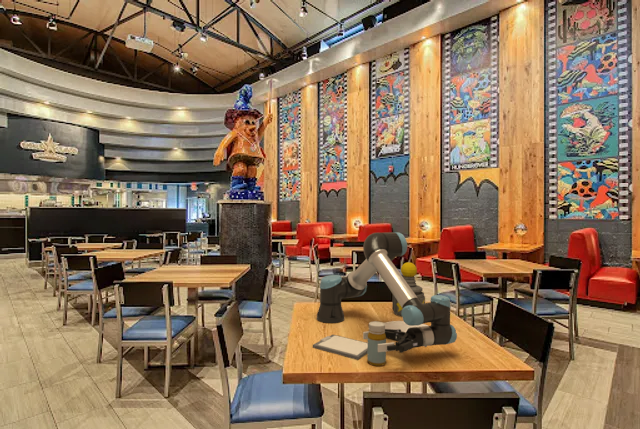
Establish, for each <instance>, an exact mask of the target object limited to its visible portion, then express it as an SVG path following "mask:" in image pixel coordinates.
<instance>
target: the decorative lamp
mask: <svg viewBox="0 0 640 429" xmlns="http://www.w3.org/2000/svg"><path fill="white" fill-rule="evenodd" d="M417 272H418V268H417V266H416V265H415V264H414V263H413V262H405V263H403V264H402V265H401V268H400V274H401V275H402V277H403V278H404V280H405V281H406V282H407V284H408V285H409V286H410V288H411V289H412V291H413V292H414V293H415V295H416V296H417V298H418V299H419V300H420V302H421V303H426V296H425V292H424V291H423V287H421V286H420V285H418V284H417V283H416V282H417V281H416V278H415V277H416V275H417ZM391 303H392V308H391V309H392V312H393V314H394V315H395V316H397V317H400V318H401V317H402V314H401V313H402V309H403V308H402V307H401V305H400V304H399V302H398V301H397V299H396V298H395V296H394V295H393V294H392V302H391ZM402 318H403V317H402Z"/></svg>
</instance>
